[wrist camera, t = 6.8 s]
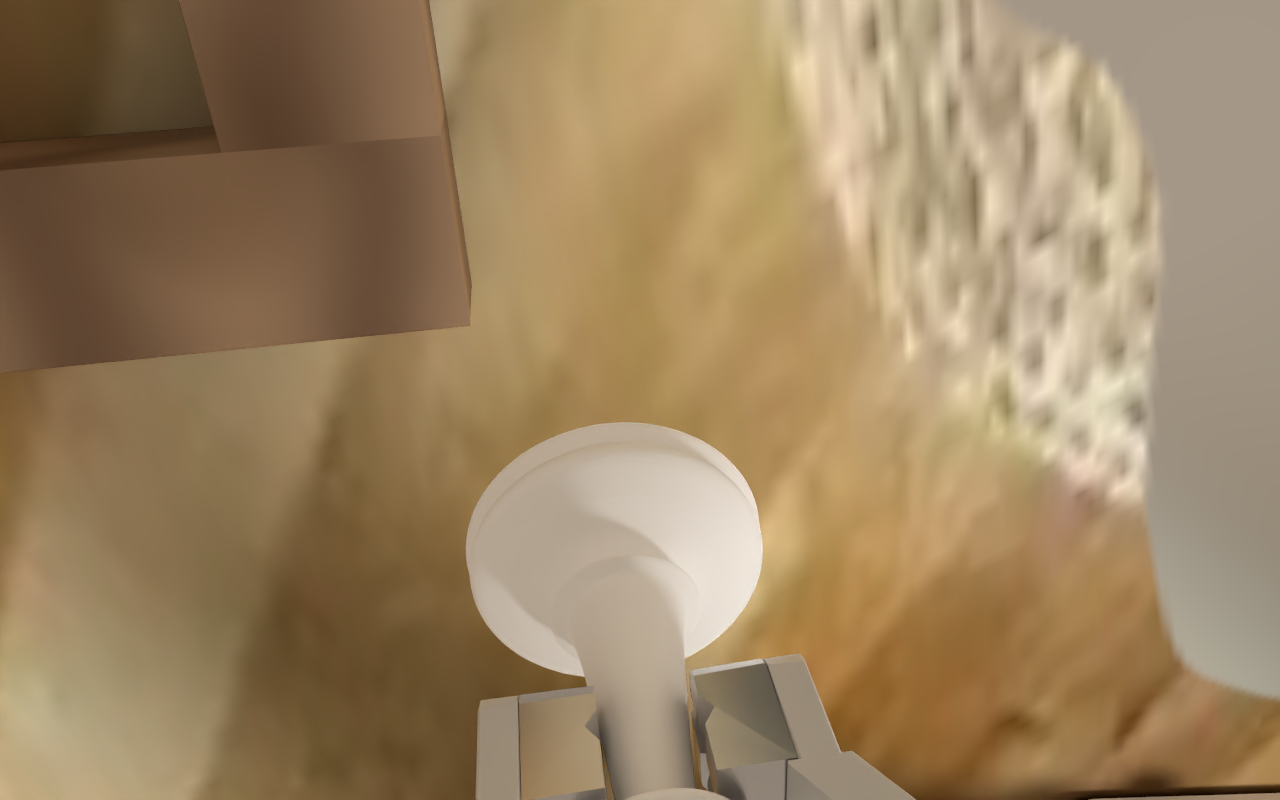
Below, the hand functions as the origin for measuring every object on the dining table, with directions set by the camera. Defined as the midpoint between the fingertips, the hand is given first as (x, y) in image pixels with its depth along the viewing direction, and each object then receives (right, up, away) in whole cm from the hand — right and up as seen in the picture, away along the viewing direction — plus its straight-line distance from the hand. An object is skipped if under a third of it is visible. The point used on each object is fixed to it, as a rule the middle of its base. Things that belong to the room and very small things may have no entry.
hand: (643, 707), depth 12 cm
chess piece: (0, +2, +3) cm, 4 cm away
